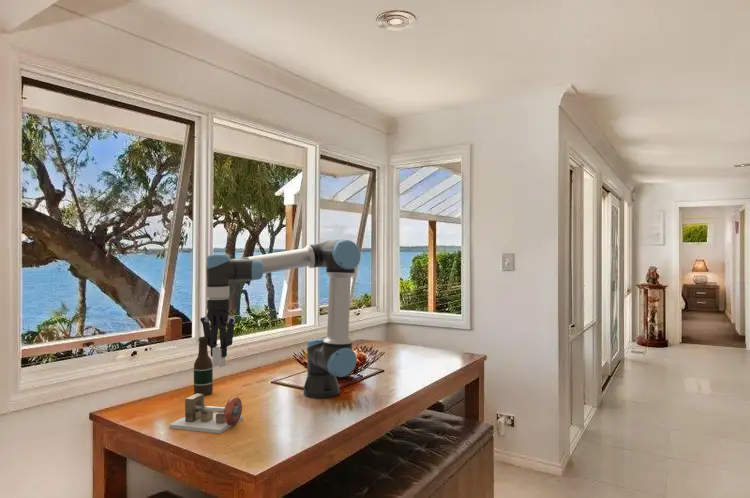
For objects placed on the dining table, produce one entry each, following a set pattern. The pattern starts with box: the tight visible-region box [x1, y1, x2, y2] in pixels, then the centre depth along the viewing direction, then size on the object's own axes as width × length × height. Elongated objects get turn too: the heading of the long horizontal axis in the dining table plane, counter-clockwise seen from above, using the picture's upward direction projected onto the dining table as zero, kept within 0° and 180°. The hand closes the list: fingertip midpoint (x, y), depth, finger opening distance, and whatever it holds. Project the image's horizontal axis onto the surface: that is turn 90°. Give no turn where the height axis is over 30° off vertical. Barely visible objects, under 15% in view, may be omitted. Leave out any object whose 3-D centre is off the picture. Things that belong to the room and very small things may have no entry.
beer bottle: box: [193, 336, 214, 397], centre depth 207 cm, size 8×8×24 cm
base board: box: [168, 412, 244, 434], centre depth 171 cm, size 20×14×1 cm
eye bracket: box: [184, 393, 225, 424], centre depth 171 cm, size 14×6×8 cm, turn 74°
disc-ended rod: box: [195, 396, 243, 426], centre depth 170 cm, size 20×9×9 cm, turn 74°
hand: (218, 366), depth 169 cm, fingers open, 2 cm apart
